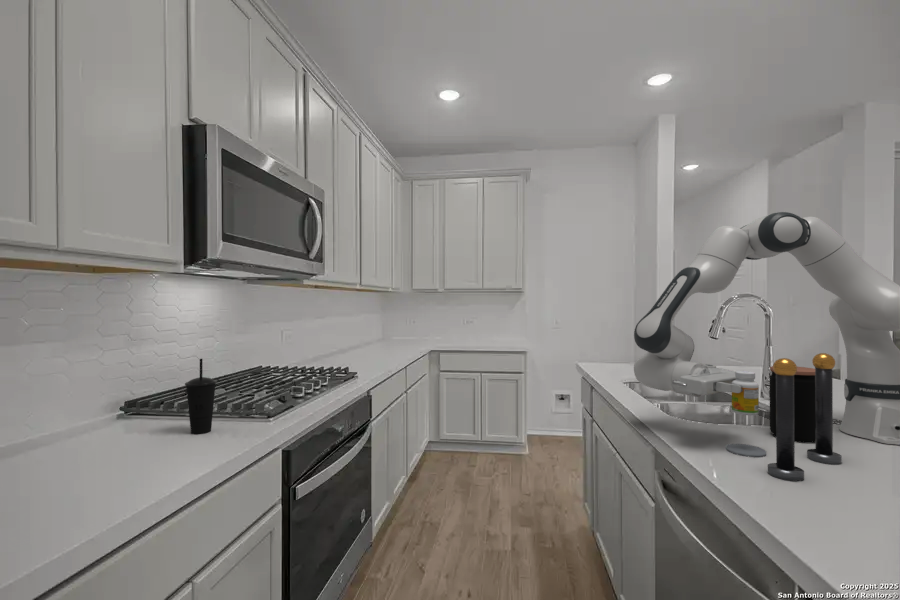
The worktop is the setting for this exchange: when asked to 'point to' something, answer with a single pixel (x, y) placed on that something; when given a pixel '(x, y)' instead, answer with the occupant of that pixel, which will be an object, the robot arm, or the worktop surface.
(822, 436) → the post
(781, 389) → the post
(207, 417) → the drinking cup
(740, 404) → the supplement bottle
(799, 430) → the coffee jar
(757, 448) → the slate mat
